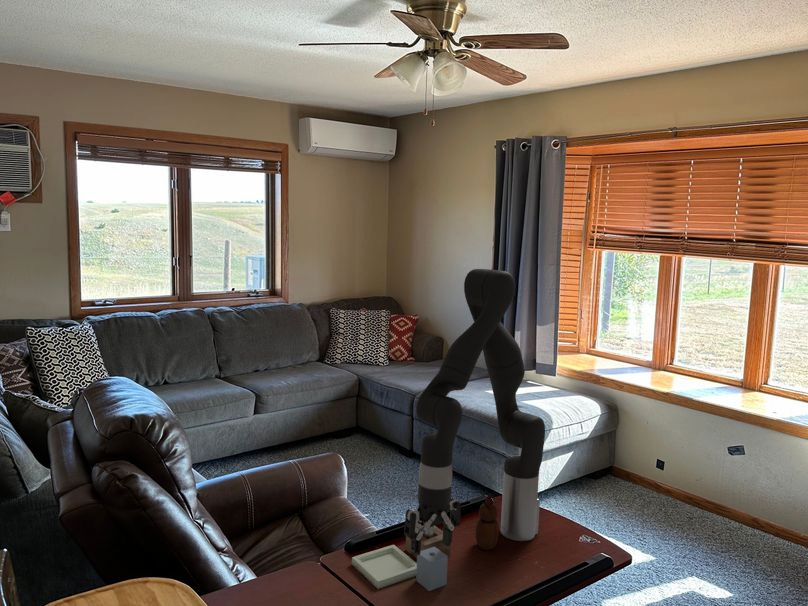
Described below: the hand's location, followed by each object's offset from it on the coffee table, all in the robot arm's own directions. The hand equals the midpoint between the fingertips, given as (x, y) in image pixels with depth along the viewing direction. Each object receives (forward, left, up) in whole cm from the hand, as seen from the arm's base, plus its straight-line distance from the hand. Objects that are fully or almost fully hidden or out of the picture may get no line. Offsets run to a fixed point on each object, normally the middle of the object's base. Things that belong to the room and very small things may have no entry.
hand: (431, 549), depth 147 cm
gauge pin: (-7, -11, -8) cm, 15 cm away
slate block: (0, 0, -8) cm, 8 cm away
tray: (+6, -10, -8) cm, 14 cm away
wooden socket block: (-7, -11, -8) cm, 16 cm away
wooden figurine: (-22, -6, -9) cm, 25 cm away
